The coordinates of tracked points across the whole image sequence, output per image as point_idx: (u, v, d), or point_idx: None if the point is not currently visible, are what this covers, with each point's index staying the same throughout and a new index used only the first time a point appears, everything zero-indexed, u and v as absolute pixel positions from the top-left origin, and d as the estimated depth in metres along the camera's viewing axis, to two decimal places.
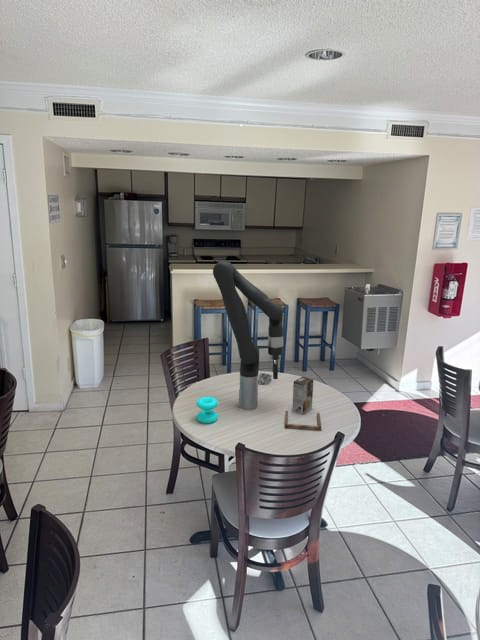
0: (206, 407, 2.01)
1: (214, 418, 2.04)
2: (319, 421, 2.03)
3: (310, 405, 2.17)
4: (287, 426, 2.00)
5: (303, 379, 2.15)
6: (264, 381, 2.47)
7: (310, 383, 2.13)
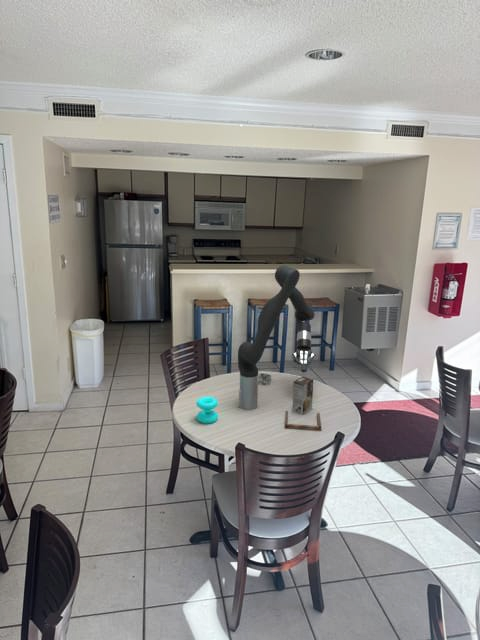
0: (206, 407, 2.01)
1: (214, 418, 2.04)
2: (319, 421, 2.03)
3: (310, 405, 2.17)
4: (287, 426, 2.00)
5: (303, 379, 2.15)
6: (265, 381, 2.47)
7: (310, 383, 2.13)
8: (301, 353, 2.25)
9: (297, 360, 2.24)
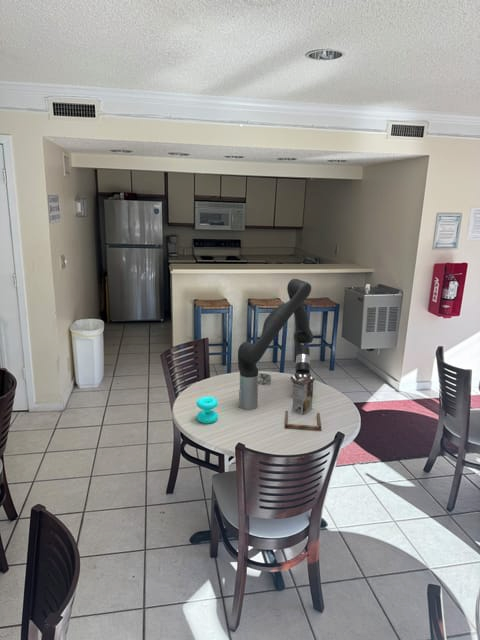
0: (206, 407, 2.01)
1: (214, 418, 2.04)
2: (319, 421, 2.03)
3: (310, 405, 2.17)
4: (287, 426, 2.00)
5: (303, 379, 2.15)
6: (266, 381, 2.47)
7: (310, 383, 2.13)
8: (300, 376, 2.29)
9: None
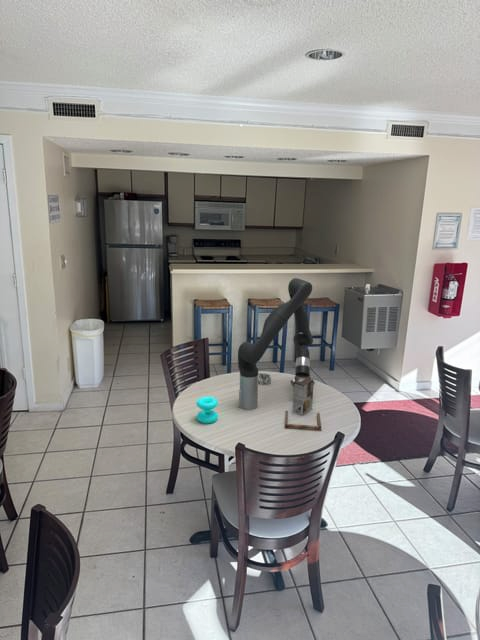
0: (206, 407, 2.01)
1: (214, 418, 2.04)
2: (319, 421, 2.03)
3: (310, 405, 2.17)
4: (287, 426, 2.00)
5: (303, 379, 2.15)
6: (266, 381, 2.47)
7: (310, 383, 2.13)
8: None
9: None
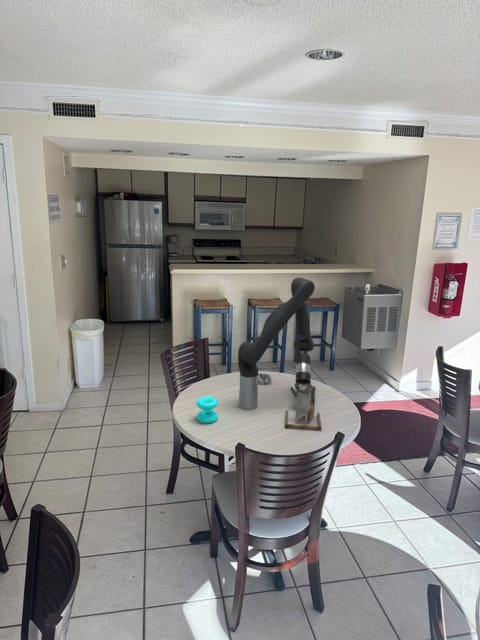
0: (206, 407, 2.01)
1: (214, 418, 2.04)
2: (319, 421, 2.03)
3: (313, 413, 2.09)
4: (287, 426, 2.00)
5: (305, 386, 2.06)
6: (267, 381, 2.48)
7: (313, 391, 2.05)
8: None
9: (296, 394, 2.15)
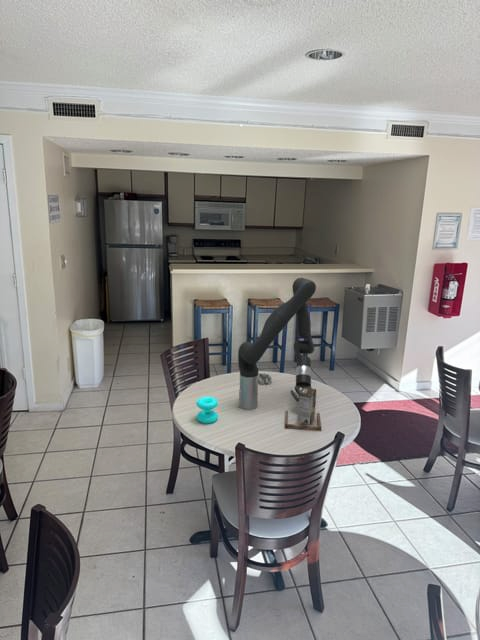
0: (206, 407, 2.01)
1: (214, 418, 2.04)
2: (319, 421, 2.03)
3: (314, 416, 2.06)
4: (287, 426, 2.00)
5: (306, 389, 2.03)
6: (267, 381, 2.48)
7: (314, 393, 2.02)
8: (300, 390, 2.13)
9: (296, 397, 2.12)
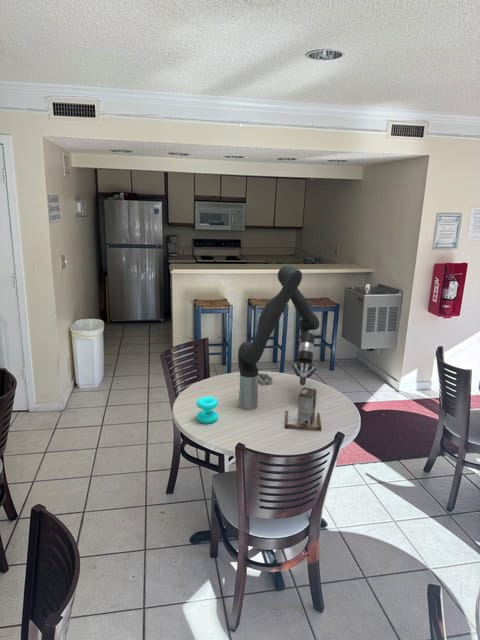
0: (206, 407, 2.01)
1: (214, 418, 2.04)
2: (319, 421, 2.03)
3: (314, 417, 2.05)
4: (287, 426, 2.00)
5: (306, 390, 2.02)
6: (268, 381, 2.48)
7: (315, 394, 2.01)
8: (302, 365, 2.20)
9: (297, 372, 2.19)
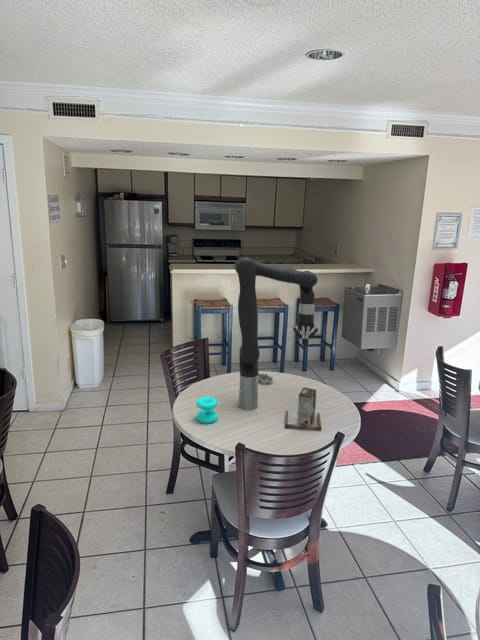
0: (206, 407, 2.01)
1: (214, 418, 2.04)
2: (319, 421, 2.03)
3: (314, 417, 2.05)
4: (287, 426, 2.00)
5: (306, 390, 2.02)
6: (269, 381, 2.48)
7: (315, 394, 2.01)
8: (303, 328, 2.15)
9: (298, 335, 2.16)
